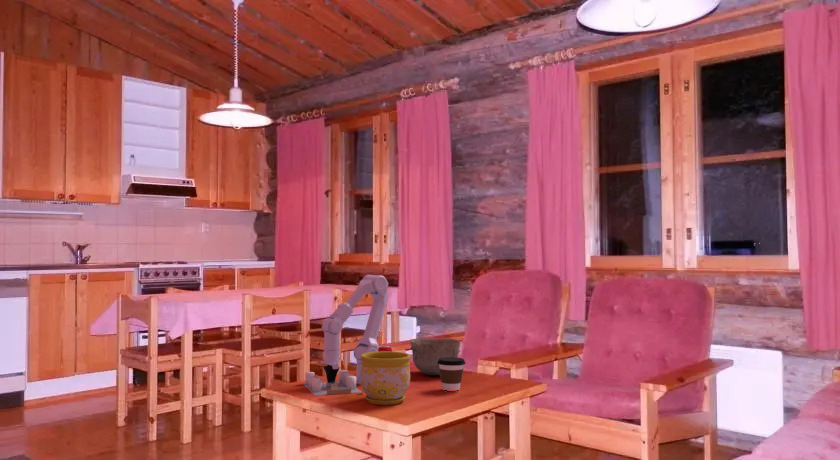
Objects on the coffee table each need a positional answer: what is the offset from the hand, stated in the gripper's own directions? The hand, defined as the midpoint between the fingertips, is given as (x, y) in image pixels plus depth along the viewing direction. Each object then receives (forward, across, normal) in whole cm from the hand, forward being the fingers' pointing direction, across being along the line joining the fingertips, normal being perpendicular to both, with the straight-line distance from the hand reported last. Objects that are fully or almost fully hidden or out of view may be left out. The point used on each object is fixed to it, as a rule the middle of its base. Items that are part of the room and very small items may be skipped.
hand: (331, 385), depth 255 cm
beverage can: (+2, -26, +30) cm, 40 cm away
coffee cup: (+2, +14, +44) cm, 46 cm away
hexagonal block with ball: (+1, +4, 0) cm, 4 cm away
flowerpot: (+2, +25, +14) cm, 28 cm away
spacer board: (+2, +1, 0) cm, 2 cm away
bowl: (+2, -18, +50) cm, 53 cm away
